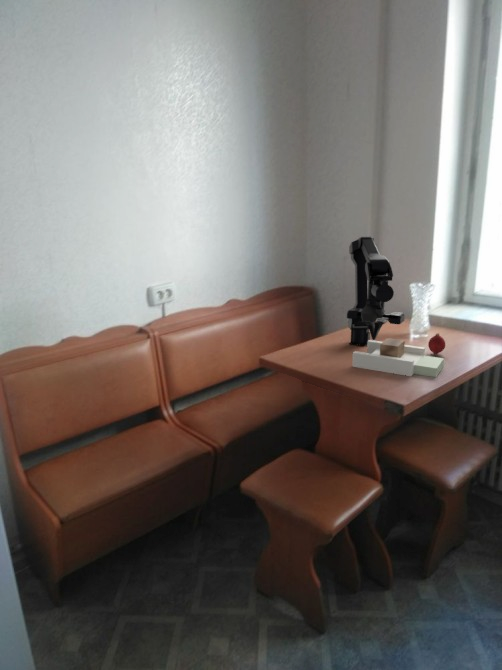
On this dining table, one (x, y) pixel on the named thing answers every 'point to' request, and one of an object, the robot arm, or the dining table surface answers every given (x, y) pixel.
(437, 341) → the onion
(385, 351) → the block
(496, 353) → the dining table surface
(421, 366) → the pad
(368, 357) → the track
